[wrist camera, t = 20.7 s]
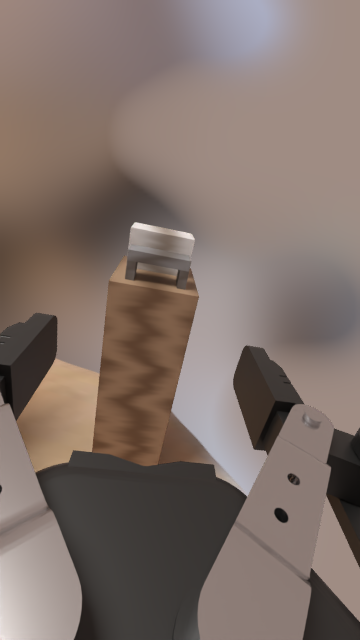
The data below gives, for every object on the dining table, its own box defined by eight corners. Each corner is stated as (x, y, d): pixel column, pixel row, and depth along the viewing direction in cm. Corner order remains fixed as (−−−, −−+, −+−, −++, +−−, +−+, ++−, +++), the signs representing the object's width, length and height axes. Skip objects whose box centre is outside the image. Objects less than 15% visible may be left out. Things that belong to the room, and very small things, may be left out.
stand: (89, 475, 44) (113, 233, 28) (105, 418, 54) (128, 220, 39) (153, 481, 45) (209, 252, 29) (156, 424, 56) (198, 234, 40)
